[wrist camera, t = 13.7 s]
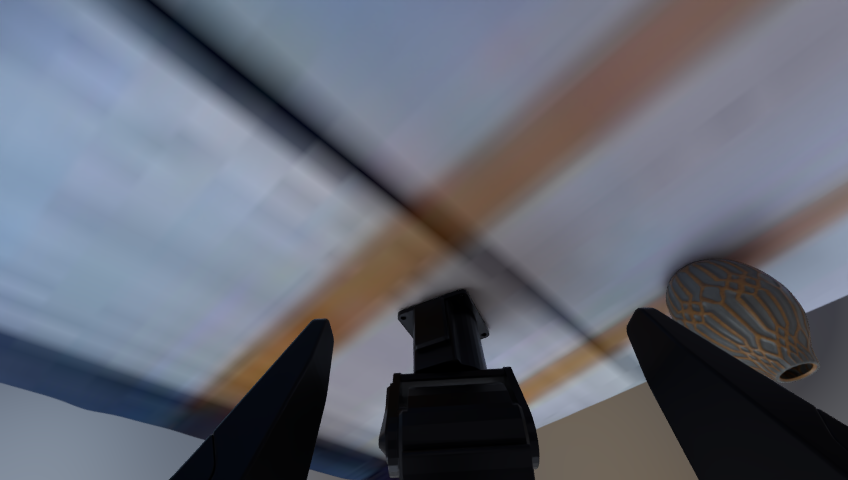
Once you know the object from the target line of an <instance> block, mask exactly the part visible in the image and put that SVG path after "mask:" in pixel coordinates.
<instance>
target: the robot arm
mask: <svg viewBox="0 0 848 480" xmlns="http://www.w3.org/2000/svg"><path fill="white" fill-rule="evenodd" d="M460 295H463V296H460ZM398 320H399V321H400V322H401V324H402V325H403V326H404V327H405V329H406V330H407V331H408V333H409V334H410V335H411V336H412V338H413V355H414V373H413V374H401V373H394V375H393V383H390V386H389V387H388V388H387V395H386V408H385V414H384V418H383V423H382V427H381V431H380V436H379V448H380V449H381V451H382V452H383V453H384V454H385V455H386V462H387V464H388V469H389V476H390V478H395V477H399V479H400V480H535V477H534V469H537V468H538V466H539V445H538V438H537V433H536V428H535V424H534V421H533V417H532V414H531V412H530V409H529V407H528V405H527V403H526V400H525V398H524V396H523V394H522V391H521V389H520V387H519V385H518V382H517V380H516V378H515V376H514V373H513V371H512V369H511V367H503V368H501V369H487V367H486V362H485V358H484V353H483V349H482V344H481V340H480V339H483V338H486V337H488V336H489V331H488V328H487V327H486V325H485V323H484V321H483V319H482V318H481V316H480V314H479V312H478V310H477V309H476V307H475V305H474V303H473V301H472V300H471V298H470V296H469V294H468V292H467V291H466V290H464V289H461V290H457V291H455V292H452V293H449V294H446V295H444V296H441V297H438V298H435V299H433V300H430V301H427V302H424V303H422V304H419V305H416V306H413V307H411V308H408V309H405V310H402V311H400V312H399V313H398ZM627 335H628V337H629V340H630V342H631V344H632V347H633V349H634V352H635V354H636V356H637V359H638V361H639V364H640V366H641V369H642V371H643V373H644V376H645V378H646V380H647V383H648V385H649V387H650V389H651V390H652V393H653V394H654V396H655V398H656V400H657V402H658V404H659V406H660V408H661V410H662V411H663V413H664V415H665V417H666V419H667V421H668V423H669V425H670V426H671V428H672V430H673V432H674V434H675V436H676V438H677V440H678V441H679V443H680V445H681V447H682V449H683V451H684V453H685V455H686V457H687V458H688V460H689V462H690V464H691V466H692V468H693V470H694V471H695V473H696V475H697V477H698V479H699V480H848V426H846V425H844V424H843V423H841V422H840V421H838V420H836V419H835V418H833V417H832V416H830V415H828V414H827V413H825V412H823V411H822V410H820V409H816V407H814V406H813V405H812V404H810V403H809V402H807V401H805V400H804V399H802V398H800V397H799V396H797V395H795V394H794V393H792V392H790V391H789V390H787V389H786V388H784V387H782V386H781V385H779V384H777V383H776V382H774V381H773V380H771V379H769V378H768V377H766V376H764V375H763V374H761V373H759V372H758V371H756V370H755V369H753V368H751V367H750V366H748V365H746V364H745V363H743V362H741V361H740V360H738V359H737V358H735V357H733V356H732V355H730V354H728V353H727V352H725V351H724V350H722V349H720V348H719V347H717V346H715V345H714V344H712V343H710V342H709V341H707V340H706V339H704V338H702V337H701V336H699V335H697V334H696V333H694V332H692V331H691V330H689V329H688V328H686V327H684V326H683V325H681V324H679V323H678V322H676V321H674V320H673V319H671V318H670V317H668V316H666V315H665V314H663V313H661V312H660V311H658V310H656V309H654V308H638V309H636V310H635V312H634V314H633V316H632V317H631V319H630V321H629V323H628V325H627ZM333 345H334V338H333V334H332V330H331V326H330V323H329V320H328V319H314V320H312V321H311V322H310V323H309V324H308V325H307V327H306V328H305V329H304V330H303V331H302V332H301V333H300V334H299V336H298V337H297V338H296V339H295V340H294V341H293V342H292V343H291V345H290V346H289V347H288V348H287V349H286V350H285V351H284V352H283V354H282V355H281V356H280V357H279V358H278V359H277V360H276V361H275V363H274V364H273V365H272V366H271V367H270V368H269V369H268V370H267V372H266V373H265V374H264V375H263V376H262V377H261V378H260V379H259V381H258V382H257V383H256V384H255V385H254V386H253V387H252V388H251V390H250V391H249V392H248V393H247V394H246V395H245V396H244V397H243V399H242V400H241V401H240V402H239V403H238V404H237V405H236V406H235V408H234V409H233V410H232V411H231V412H230V413H229V414H228V415H227V417H226V418H225V419H224V420H223V421H222V422H221V423H220V424H219V426H218V427H217V428H216V429H215V430H214V431H213V434H211V435H210V436H209V437H208V438H207V439H206V440H205V441H204V442H203V443H202V445H201V446H200V447H199V448H198V449H197V450H196V451H195V452H194V454H193V455H192V456H191V457H190V458H189V459H188V460H187V461H186V462H185V463H184V464H183V465H182V466H181V468H180V469H179V470H178V471H177V472H176V473H175V474H174V475H173V476H172V477H171V478H170V479H169V480H307V476H308V472H309V468H310V464H311V460H312V456H313V451H314V447H315V443H316V439H317V435H318V431H319V427H320V423H321V419H322V415H323V410H324V406H325V402H326V397H327V391H328V383H329V376H330V368H331V360H332V353H333Z"/></svg>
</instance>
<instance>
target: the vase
mask: <svg viewBox="0 0 848 480" xmlns="http://www.w3.org/2000/svg"><path fill="white" fill-rule="evenodd" d="M666 303H667V307H668V310H669V313H670V315H671V317H672V319H673V320H674V321H676V322H678V323H679V324H681V325H683V326H684V327H686V328H688V329H689V330H691V331H692V332H694V333H696V334H697V335H699V336H701V337H702V338H704V339H706V340H707V341H709V342H710V343H712V344H714V345H715V346H717V347H719V348H720V349H722V350H724V351H725V352H727V353H728V354H730V355H732V356H733V357H735V358H737V359H738V360H740V361H741V362H743V363H745V364H746V365H748V366H750V367H751V368H753V369H755V370H756V371H758V372H759V373H761V374H764V375H766V376H767V377H769V378H771V379H773V380H775V381H777V382H780V383H789V382H795V381H798V380H802V379H804V378H806V377H808V376H810V375H812V374H814V373H815V372H816V371H817V370H818V369H819V367H820V363H819V361H818V359H817V357H816V355H815V354H814V351H813V348H812V345H811V337H810V329H809V324H808V319H807V316H806V313H805V311H804V309H803V308H802V306H801V305H800V303H799V302H798V300H797V299H796V298H795V297H794V295H793V294H792V293H791V292H790V291H789V290H788V289H787V288H786V287H785V286H784V285H782V284H781V283H780V282H778V281H777V280H775V279H774V278H772V277H771V276H769V275H768V274H766V273H764V272H763V271H761V270H759V269H757V268H754V267H752V266H749V265H747V264H744V263H740V262H736V261H732V260H723V259H712V260H702V261H697V262H694V263H691V264H689V265H687V266H685V267H684V268H682V269H681V270H679V271H678V272H677V273H676V274H675V275H674V276H673V277H672V279H671V280H670V282H669V285H668V288H667V291H666Z"/></svg>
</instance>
